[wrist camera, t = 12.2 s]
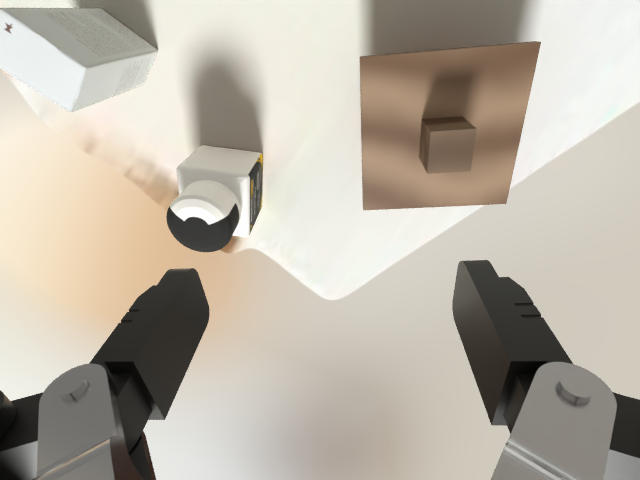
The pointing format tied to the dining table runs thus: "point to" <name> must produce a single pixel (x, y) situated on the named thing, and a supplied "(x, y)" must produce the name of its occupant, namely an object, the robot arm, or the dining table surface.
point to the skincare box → (72, 54)
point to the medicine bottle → (216, 197)
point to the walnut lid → (443, 124)
